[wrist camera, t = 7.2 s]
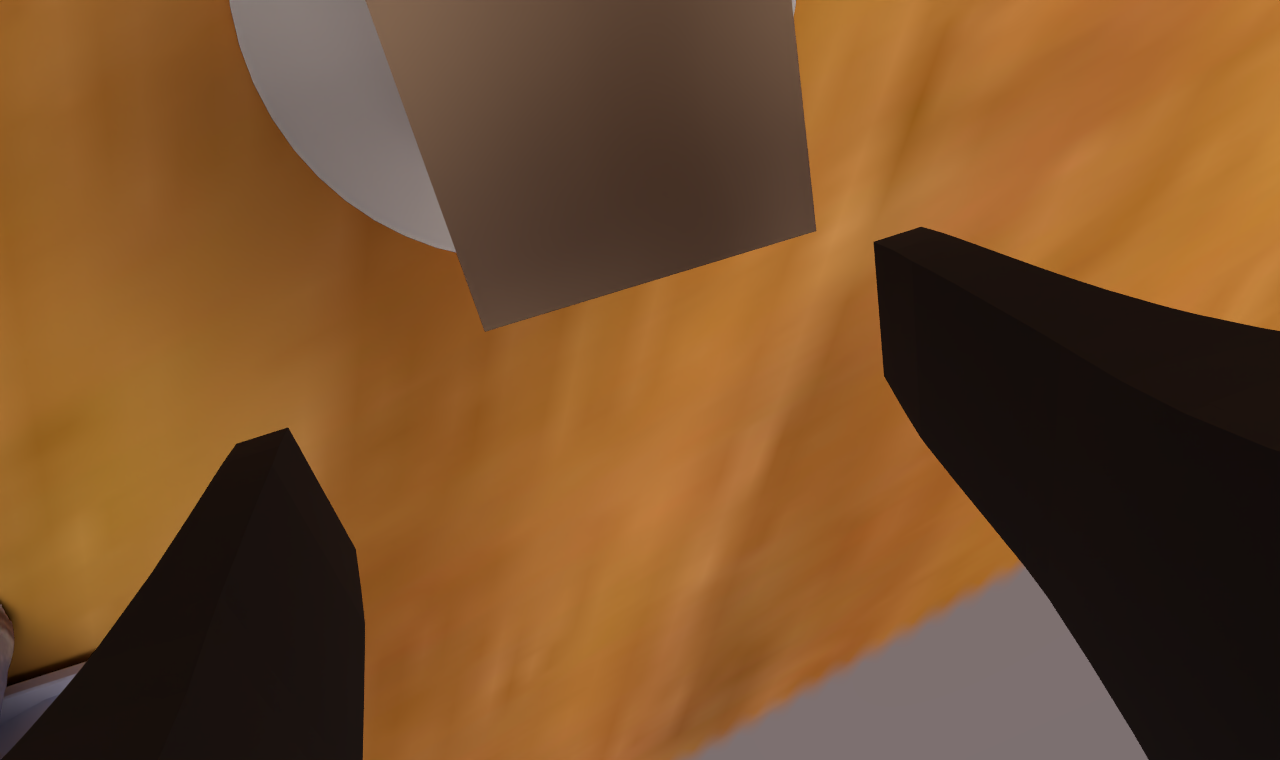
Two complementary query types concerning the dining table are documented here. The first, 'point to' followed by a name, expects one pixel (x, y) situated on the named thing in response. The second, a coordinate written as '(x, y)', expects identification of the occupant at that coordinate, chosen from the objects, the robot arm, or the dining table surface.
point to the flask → (5, 650)
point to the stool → (601, 138)
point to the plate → (341, 107)
